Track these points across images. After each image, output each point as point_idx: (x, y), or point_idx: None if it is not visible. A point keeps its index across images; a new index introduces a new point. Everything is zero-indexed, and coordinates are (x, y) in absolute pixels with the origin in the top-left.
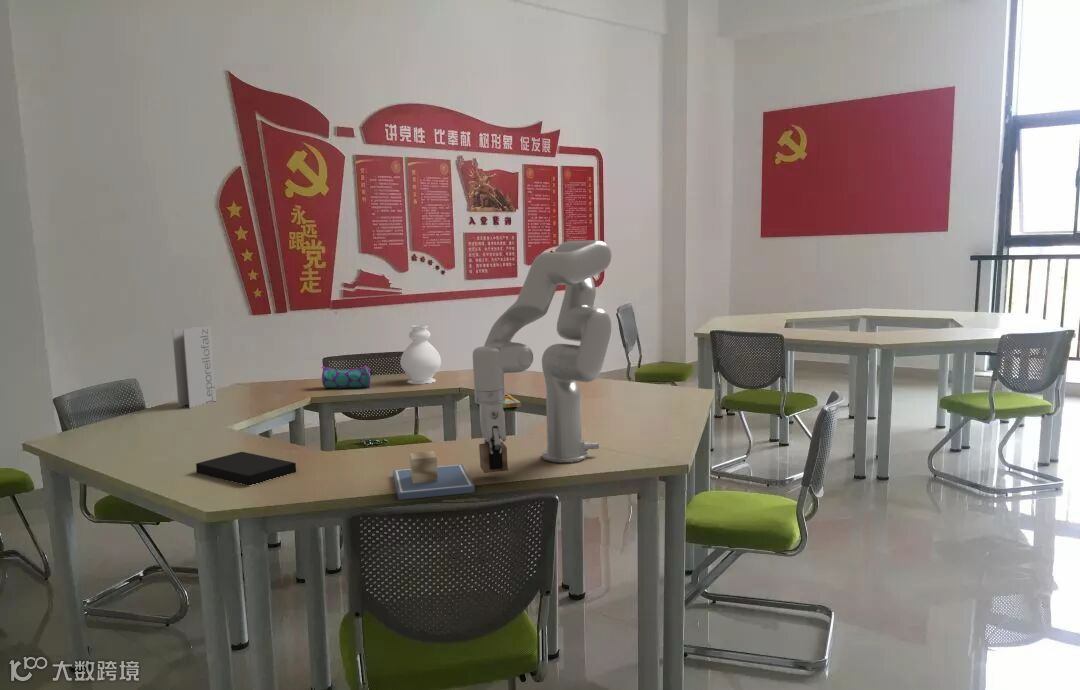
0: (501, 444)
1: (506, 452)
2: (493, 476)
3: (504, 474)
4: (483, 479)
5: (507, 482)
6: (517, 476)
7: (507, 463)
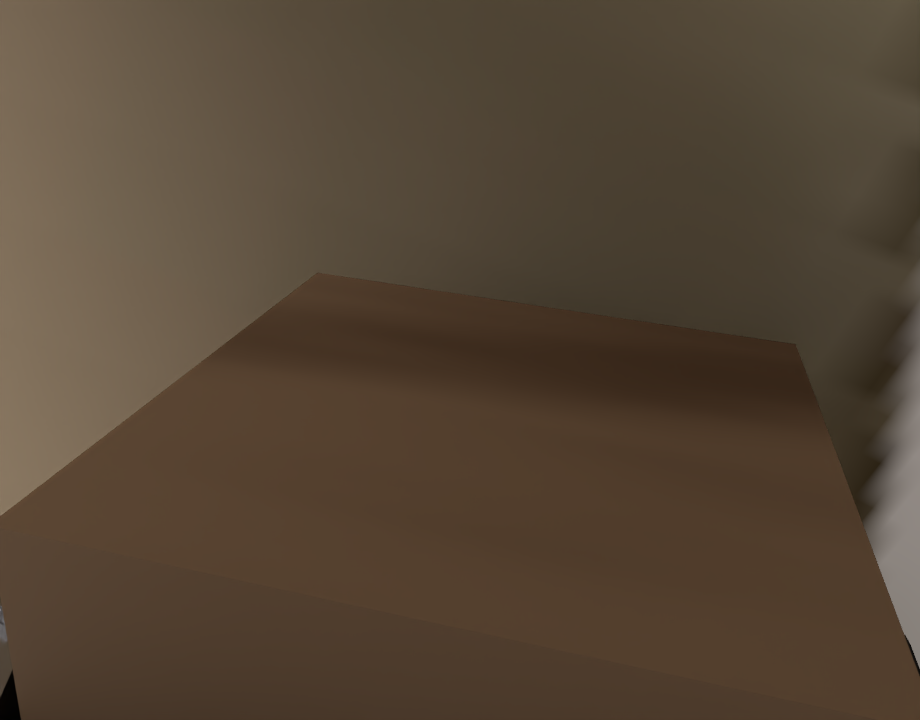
0: (383, 698)
1: (876, 600)
2: None
3: (443, 238)
4: None
5: (911, 349)
6: (655, 64)
7: (820, 412)
